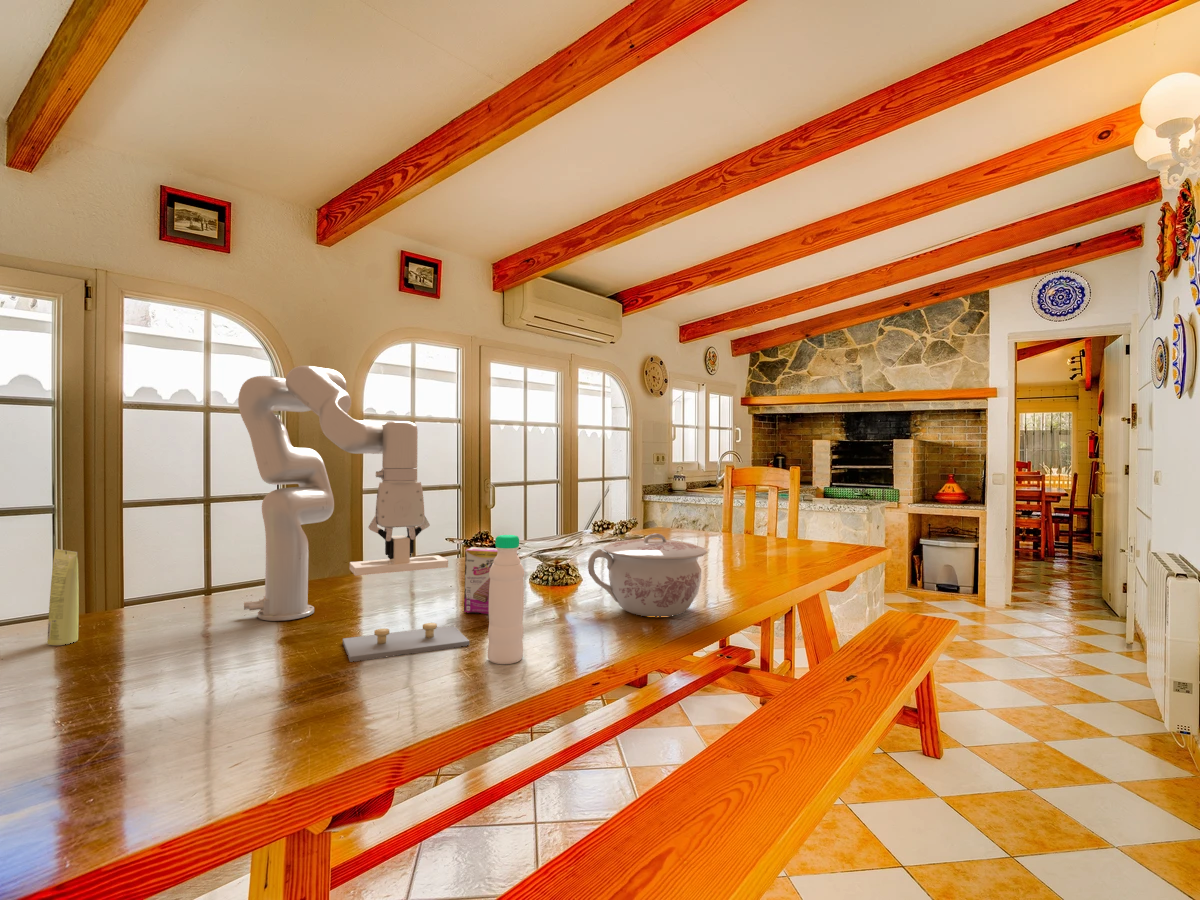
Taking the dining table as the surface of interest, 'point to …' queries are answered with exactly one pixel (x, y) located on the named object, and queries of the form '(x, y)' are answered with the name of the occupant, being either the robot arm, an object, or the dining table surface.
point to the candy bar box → (478, 579)
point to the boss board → (403, 642)
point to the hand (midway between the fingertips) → (399, 556)
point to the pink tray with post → (398, 561)
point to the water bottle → (506, 603)
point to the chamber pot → (651, 574)
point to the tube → (64, 599)
